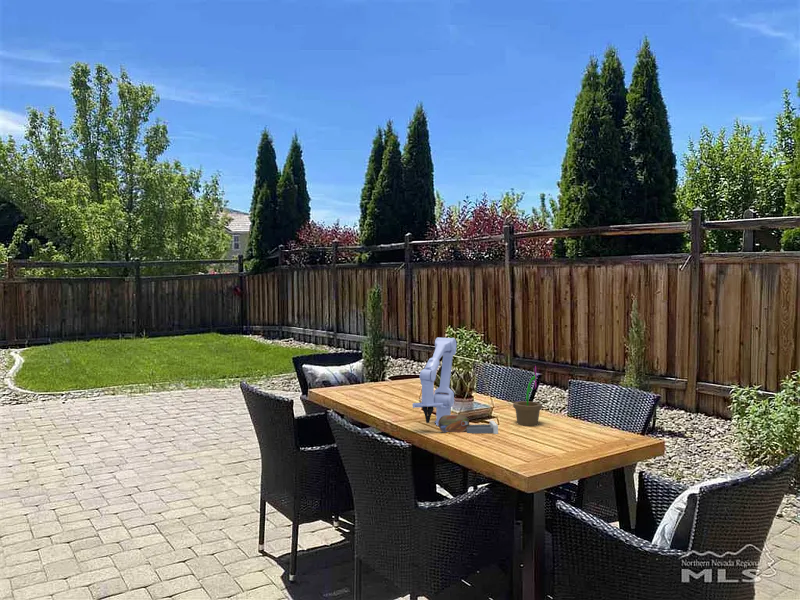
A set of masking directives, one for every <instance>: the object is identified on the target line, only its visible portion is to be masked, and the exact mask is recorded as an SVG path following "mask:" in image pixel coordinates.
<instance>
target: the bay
mask: <svg viewBox="0 0 800 600" xmlns="http://www.w3.org/2000/svg"><path fill="white" fill-rule="evenodd" d="M467 433H472V434H493V435H498V434H499V424H498V423H496V422H495V420H489V424H488V423H487V424H469V427H468V428H467V430H466V434H467Z"/></svg>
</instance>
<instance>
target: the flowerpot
mask: <svg viewBox="0 0 800 600" xmlns="http://www.w3.org/2000/svg"><path fill="white" fill-rule="evenodd" d="M533 381H534V389H535V390H536V388H537V366H536V365H535V366H534V375H533V376H532V377H531V378H530V381H529V383H528V385H527V389H526V396H525V400H526V401H524V400H523V401H514V403H513V406H512V408H513V409H515V415H516V423H518V424H517V425H518V426H522V425H523V426H524V427H534V425H536V426H538V425H539V418H540V411H541V410H542V409H543V403H541V402H538V401H537V402H536V401H531V400H530V399H529V396H530V395H529V394H530V392H532V391H533V389H532V388H531V384H532V382H533ZM529 400H530V401H529ZM537 424H538V425H537Z"/></svg>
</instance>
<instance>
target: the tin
mask: <svg viewBox="0 0 800 600" xmlns="http://www.w3.org/2000/svg"><path fill="white" fill-rule="evenodd" d="M438 425H439V426H438V427H439V430H440V431H441V432H443V433H445V434H447V433H446V432H457V433H464V432H465V431H466V432H467V428H468V427H469V425H470V420H469V418H468V417H467V416H466V415H464V414H451V415H444V416H442V417H441V418H440V419H439V422H438Z"/></svg>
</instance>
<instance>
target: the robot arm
mask: <svg viewBox="0 0 800 600" xmlns="http://www.w3.org/2000/svg"><path fill="white" fill-rule="evenodd" d="M457 347H458V346H457V340H456V338H455V337H440V336H439V337H436V338H435V340H434V352H433V355H432V357H430V358H429V359H428V361H427V362H426V364H425V366H424V368H422V370H420V372H419V380H420V385H421V402H412V409H414V408H421V409H422V412H423V415H424V416H425V423H426V424H430V421H431V416H432V414H433V412H434V409H436V413H435V417H436V418H435V419H436V420H434V423H436V424H435V426H436V425H437V427H439V425H438V422H439V419H440V418H441V417H442V416H444V415H452V414H451V407H453V406H454V403H455V393H454V391H453V390H452V389H451V387H450V383H451V377H452V367H453V357H454V356H455V355H456V352H457ZM441 358H442V363H440V360H441ZM440 364H441V371H440V379H439V387H437V388H436V389H434V388H435V386H434V382H435V381H436V378H437V371H438V368H439V367H440Z"/></svg>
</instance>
